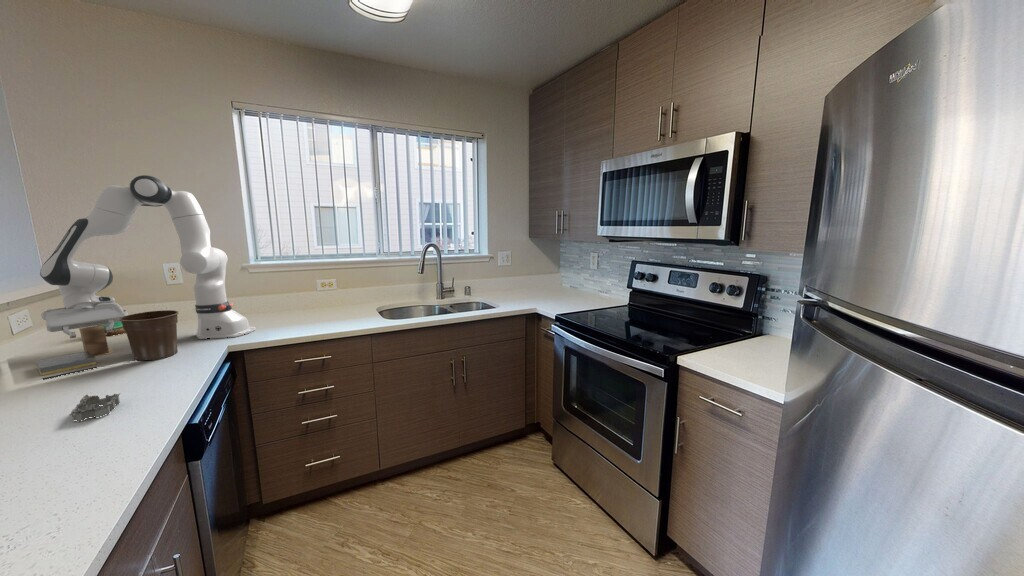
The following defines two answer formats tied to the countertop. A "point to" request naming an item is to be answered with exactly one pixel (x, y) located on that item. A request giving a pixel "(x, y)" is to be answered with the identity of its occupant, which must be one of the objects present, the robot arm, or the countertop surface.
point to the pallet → (106, 353)
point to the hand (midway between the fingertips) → (92, 334)
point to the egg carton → (94, 406)
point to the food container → (116, 327)
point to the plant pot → (152, 334)
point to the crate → (94, 340)
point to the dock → (65, 363)
